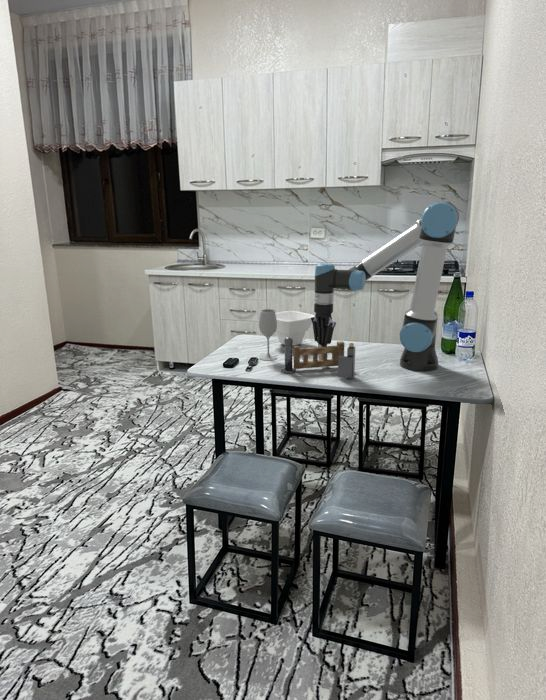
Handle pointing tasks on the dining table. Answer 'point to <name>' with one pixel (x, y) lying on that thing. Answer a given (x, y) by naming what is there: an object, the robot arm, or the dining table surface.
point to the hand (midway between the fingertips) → (322, 359)
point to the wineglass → (268, 329)
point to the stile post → (347, 363)
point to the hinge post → (288, 357)
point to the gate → (315, 351)
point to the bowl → (292, 325)
